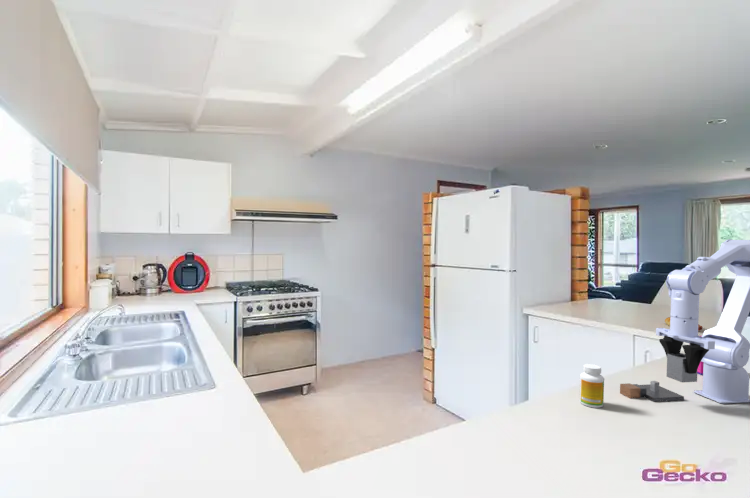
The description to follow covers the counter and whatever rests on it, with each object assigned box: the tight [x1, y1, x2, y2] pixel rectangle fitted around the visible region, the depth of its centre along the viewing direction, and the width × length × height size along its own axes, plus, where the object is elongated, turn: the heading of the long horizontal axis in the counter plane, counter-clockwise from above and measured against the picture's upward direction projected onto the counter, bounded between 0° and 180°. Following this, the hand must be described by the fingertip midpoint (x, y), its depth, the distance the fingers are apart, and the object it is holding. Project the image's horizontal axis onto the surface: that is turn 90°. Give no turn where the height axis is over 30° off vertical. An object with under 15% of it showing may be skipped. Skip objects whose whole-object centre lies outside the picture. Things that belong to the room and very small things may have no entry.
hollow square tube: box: [666, 352, 698, 383], centre depth 103 cm, size 4×4×6 cm
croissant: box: [664, 317, 703, 332], centre depth 198 cm, size 21×10×8 cm, turn 5°
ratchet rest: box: [619, 380, 685, 403], centre depth 110 cm, size 14×9×4 cm, turn 99°
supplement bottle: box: [578, 363, 605, 409], centre depth 103 cm, size 5×5×10 cm
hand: (682, 369), depth 103 cm, fingers closed on hollow square tube, 4 cm apart
